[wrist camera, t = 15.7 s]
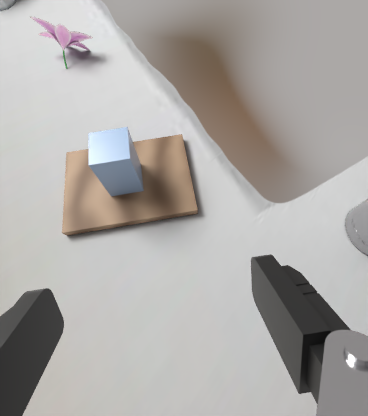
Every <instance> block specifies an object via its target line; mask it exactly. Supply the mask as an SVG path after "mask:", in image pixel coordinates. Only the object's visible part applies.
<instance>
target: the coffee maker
mask: <svg viewBox="0 0 368 416" xmlns="http://www.w3.org/2000/svg"><path fill="white" fill-rule="evenodd" d="M15 3H16V2H15V0H0V11H2V10H6V9H9V8H10V7H11V6H12V5H13V4H15Z"/></svg>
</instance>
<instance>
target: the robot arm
mask: <svg viewBox="0 0 368 416" xmlns="http://www.w3.org/2000/svg"><path fill="white" fill-rule="evenodd" d="M345 226H346V231H347V234H348V236H349V238H350V240H351V242H352V243H353V244H354V245H355V246H356V247H357V248H358V249H359V250H360V251H361V252H363V253H365V254H366V255H368V199H367V200H365V201H364V202H362V203H361V204H359V205H358V206H356V207H355V208H353V209H352V210H351V211H350V212H349V213H348V215H347V217H346V222H345ZM251 274H252V292H253V297H254V301H255V303H256V306H257V308H258V310H259V312H260V314H261V316H262V318H263V320H264V322H265V324H266V327H267V329H268V331H269V333H270V335H271V337H272V339H273V341H274V343H275V345H276V347H277V349H278V351H279V353H280V356H281V358H282V360H283V362H284V364H285V366H286V368H287V370H288V372H289V374H290V376H291V378H292V380H293V383H294V385H295V387H296V389H297V391H298V393H299V394H301V393H307V392H311V393H312V395H313V397H314V399H315V401H316V402H317V404H318V405H317V414H316V416H368V336H366V335H364V334H362V333H359V332H355V331H351V330H350V329H349V327H348V326H347V325H346V324H345V323H344V322H343V321H342V319H341V318H340V317H339V316H338V315H337V314H336V313H335V311H334V310H333V309H332V308H331V307H330V306H329V305H328V303H327V302H326V301H325V300H324V299H323V298H322V297H321V295H320V294H319V293H317V291H316V290H315V289H314V288H313V286H312V285H310V284H309V282H308V281H307V280H306V278H305V277H304V276H303V275H302V274H301V273H300V272H298V271H297V270H295V269H293V268H292V267H290V266H288V265H287V266H281V265H280V264H279V263H278V262H277V260H276V259H275V258H274V257H273V255H264V256H258V257H252V259H251ZM63 328H64V320H63V317H62V314H61V312H60V310H59V307H58V305H57V302H56V300H55V298H54V295H53V293H52V291H51V290H50V289H40V290H34V291H27V292H25V293H24V294H23V295H22V296H21V298H20V299H19V300H18V301H17V302H16V304H15V305H14V306H13V307H12V308H10V309H9V310H8V311H7V312H5V313H4V314H3V315H2V316H0V416H22V415H23V413H24V411H25V409H26V407H27V405H28V403H29V401H30V399H31V397H32V395H33V393H34V390H35V388H36V386H37V384H38V382H39V380H40V378H41V376H42V374H43V372H44V370H45V368H46V366H47V364H48V362H49V360H50V358H51V356H52V354H53V352H54V350H55V348H56V346H57V344H58V342H59V339H60V337H61V335H62V333H63Z"/></svg>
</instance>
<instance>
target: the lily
mask: <svg viewBox="0 0 368 416" xmlns="http://www.w3.org/2000/svg"><path fill="white" fill-rule="evenodd" d="M30 18H32V19H33V20H35V21H36V22H37V23H39V24H40V25H41V26H43V27H44V28H45V29H46V30H47V31H48V32H49V33H48V32H42V33H39V35H41V36H45V37H50V38H53V39H55V40H56V41H57V42H58V43H59V44H60V45H61V47H62V49H63V57H64V62H65V66H66V69H68V68H67V64H66V60H65V54H64V49H65V48H66V47H68V46H71V45H76V46H79V47H81V48H84V49H86V50H89V49H88V48H87V47H86V46H85V45H83V44H82V43H80V42H81V41H83V40H86V39H92V38H93V37H91V36H89V35H86V34H83V33H80V32H75V31H73V32H69V30H68V29H67V28H66V27H64V26H63V25H61V24H59V25H57V26H56V27H55V26H54V25H52V24H51V23H49V22H47V21H44V20H41V19H39V18H35V17H30ZM89 51H90V50H89Z"/></svg>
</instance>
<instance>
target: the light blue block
mask: <svg viewBox="0 0 368 416" xmlns="http://www.w3.org/2000/svg"><path fill="white" fill-rule="evenodd" d="M89 167H90V168H91V169H92V171H93V172H94V174H95V175H96V176H97V178H98V179H99V180H100V182H101V183H102V185H103V186H104V187H105V189H106V190H107V192H108V193H109V194H110V196H117V195H123V194H129V193H135V192H141V191H144V189H143V180H142V170H141V163H140V160H139V158H138V155H137V152H136V149H135V147H134V144H133V141H132V138H131V136H130V133H129V130H128V128H127V127H124V128H118V129H112V130H106V131H99V132H93V133H89Z"/></svg>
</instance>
